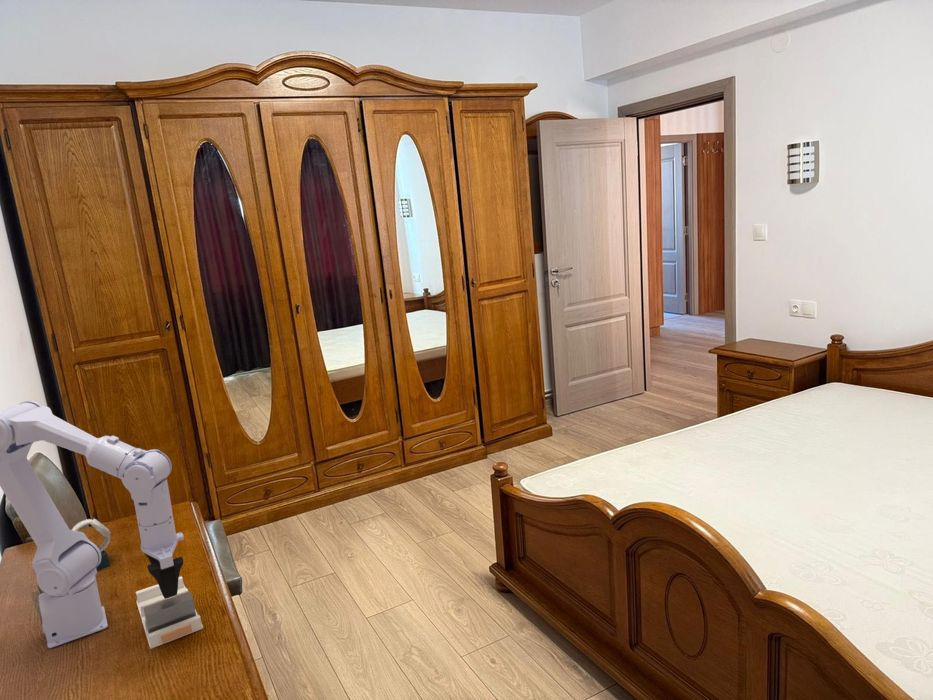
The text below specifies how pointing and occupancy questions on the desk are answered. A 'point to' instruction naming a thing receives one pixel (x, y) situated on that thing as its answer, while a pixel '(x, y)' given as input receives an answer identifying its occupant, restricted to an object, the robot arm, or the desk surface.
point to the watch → (104, 532)
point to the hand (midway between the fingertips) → (167, 586)
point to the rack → (170, 632)
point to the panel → (169, 612)
